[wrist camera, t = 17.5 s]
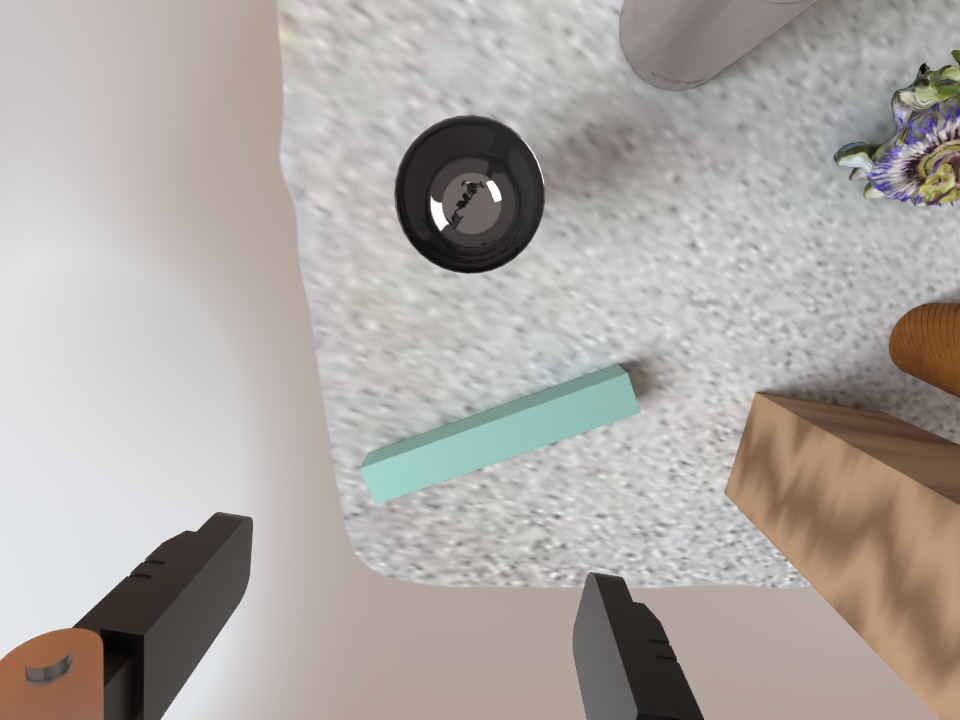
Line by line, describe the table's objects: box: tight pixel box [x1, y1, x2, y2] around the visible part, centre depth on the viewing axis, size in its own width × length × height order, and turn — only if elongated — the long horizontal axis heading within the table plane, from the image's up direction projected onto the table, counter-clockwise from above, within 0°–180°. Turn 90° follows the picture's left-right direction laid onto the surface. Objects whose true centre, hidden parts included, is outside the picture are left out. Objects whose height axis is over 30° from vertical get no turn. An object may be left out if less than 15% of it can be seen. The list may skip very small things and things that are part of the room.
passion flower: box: [834, 50, 960, 207], centre depth 35 cm, size 11×11×12 cm
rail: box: [360, 364, 640, 504], centre depth 43 cm, size 4×24×4 cm, turn 111°
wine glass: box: [394, 115, 545, 274], centre depth 33 cm, size 8×8×15 cm
